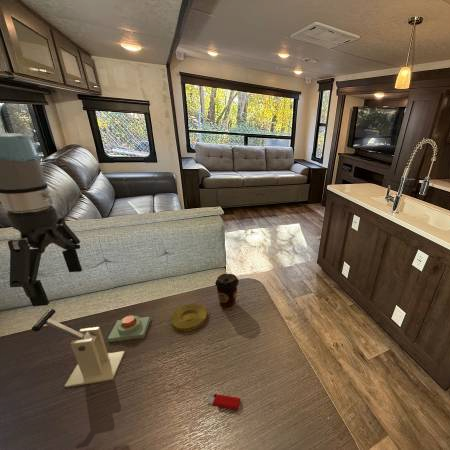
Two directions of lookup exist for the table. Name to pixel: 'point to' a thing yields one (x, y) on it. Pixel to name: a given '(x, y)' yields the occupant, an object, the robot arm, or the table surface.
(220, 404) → the lighter
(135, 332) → the button box
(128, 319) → the button
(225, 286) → the coffee cup
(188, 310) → the olive yellow disc
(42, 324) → the lever
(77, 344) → the bracket
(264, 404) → the table surface
